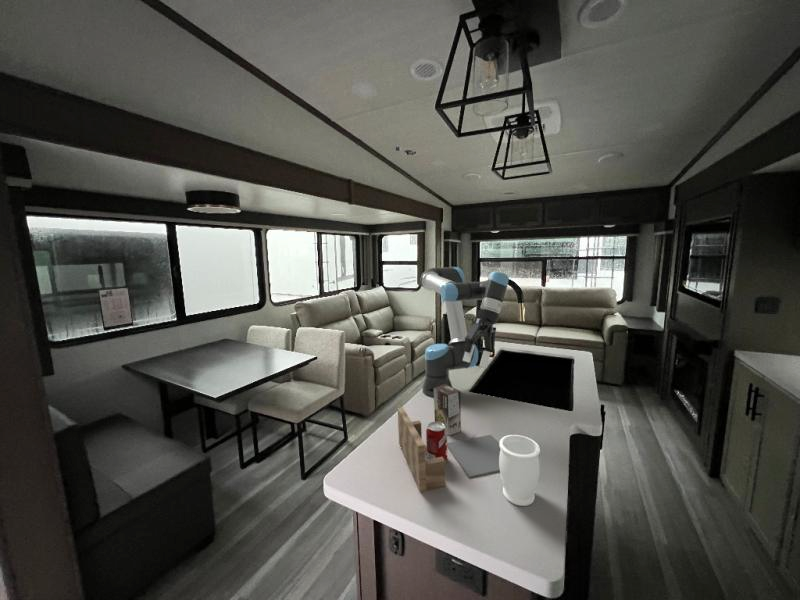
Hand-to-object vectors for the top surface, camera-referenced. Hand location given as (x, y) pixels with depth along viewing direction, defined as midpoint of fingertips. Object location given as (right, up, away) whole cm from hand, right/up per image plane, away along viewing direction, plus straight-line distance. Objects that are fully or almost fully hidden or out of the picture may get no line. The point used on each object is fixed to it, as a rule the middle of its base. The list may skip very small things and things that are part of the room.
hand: (474, 364), depth 116 cm
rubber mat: (-1, -28, -12) cm, 30 cm away
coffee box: (-9, -26, +5) cm, 28 cm away
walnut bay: (-22, -29, -15) cm, 39 cm away
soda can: (-16, -29, -14) cm, 36 cm away
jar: (+5, -30, -30) cm, 43 cm away
